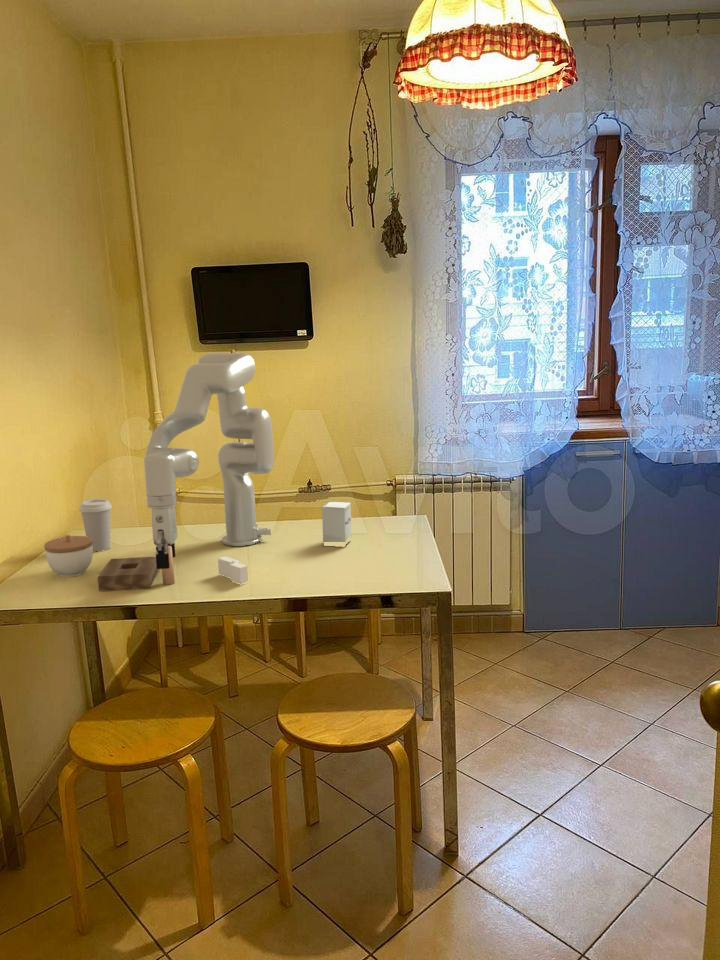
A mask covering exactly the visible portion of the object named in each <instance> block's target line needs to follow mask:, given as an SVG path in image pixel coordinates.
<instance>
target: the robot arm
mask: <svg viewBox="0 0 720 960" xmlns="http://www.w3.org/2000/svg"><path fill="white" fill-rule="evenodd" d="M197 362H198V363H195V364H192V365H191V366H189V368H187V370H186V372H185V376H184V379H183V381H182V384H181V385H182V386H181V389H180V393H179V396H178V399H177V402H176V405H175V407H174V410H173V412H171V414H169V415H168V416H167V417H166V418H165V419H163V421H162V422H161V423H160V424H159V425H158V426H157V427H156V428H155V429H154V431H153V432H152V434H151V436H150V439H149V442H148V445H147V449H146V452H145V457H144V460H143V461H144V462H143V464H144V465H143V466H144V478H145V479H144V480H145V491H146V503H147V508H148V509H151V524H152V525H151V526H152V527H151V528H152V539H153V544H154V545H155V557H156V565H157V569H159V570H162V569H168V568H169V567H170V566H169V553H167V550H168V546H172V556H173V559H175V558H176V544H175V541H176V540H177V538H178V524H177V517H176V516H177V515H176V509H175V508H176V506H178V498H177V486H176V484H177V483H176V479H177V478H187V477H189V476H191V475H193V474H195V473H196V471H197V470H198V468H199V464H200V458H199V457H198V454H197V453H196V451H194V450H191V449H188V448H176V447H169V445H170V444H171V442H172V441H173V440H174V439H175V438H176V437H177V436H179V435H180V434H182V433H184V432H186V431H188V430H191V429H192V428H194V427H197V426H199V425H200V424H203V422H204V421H205V420H206V418H207V415H208V411H209V410H208V409H209V407H210V403H211V400H212V396H213V395H216V397H217V404H218V414H219V424H220V431H221V433H222V435H223V436H224V438H228V439H236V440H252V441H253V442H240V441H239V442H238V441H237V442H236V441H235V442H228V443H226V444H223V445H222V446H221V447H220V449H219V451H218V455H217V458H218V460H217V461H218V463H219V464H218V465H219V468H220V472H221V477H222V485H223V497H224V498H223V499H224V513H225V514H224V515H225V516H224V517H225V530H226V534H225V535H224V536H222V538H221V543H222V544H223V545H225V546H229V547H245V546H246V545H247V546H251V545H256V544H258V543H260V542H261V541H262V540H263V536H271V535H272V528H268V527H263V528H262V527H261V528H260V527H259V524H257V515H256V512H257V511H256V495H255V494H256V492H255V490H256V489H255V485H254V481H253V480H252V478H251V476H250V475H249V474H251V475H266V474H269V473H271V472H272V471H273V470H274V467H275V466H274V465H275V445H274V430H273V421H272V418H271V416H270V414H269V412H268V411H267V410H265V409H263V408H259V407H256V408H255V407H248V404H247V397H246V396H247V395H246V390H245V388H244V386H246V385H247V384H249V383H250V382H251V381H252V380H253V378H254V377H255V374H256V370H257V369H256V368H257V367H256V362H255V360H254V358H253V357H252V355H250V354H248V353H244V352H242V353H241V352H238V353H237V352H236V353H235V352H234V353H233V352H232V353H231V352H229V353H228V352H227V353H226V352H215V353H207V354H203V355H202V356H200V358H199V359H198V361H197ZM259 541H260V542H259ZM257 542H258V543H257ZM255 543H256V544H255ZM164 546H165V549H164Z"/></svg>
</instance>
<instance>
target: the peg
mask: <svg viewBox="0 0 720 960" xmlns="http://www.w3.org/2000/svg"><path fill="white" fill-rule="evenodd" d="M164 549H165V546H164ZM167 553H169V566H170V567H169V568H168V569H161V572H162V573H161V575H162V584H163V585H164V586H171V585H173V584H175V569H174V558H173V556H172V546H168V550H167Z"/></svg>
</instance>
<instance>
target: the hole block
mask: <svg viewBox="0 0 720 960" xmlns="http://www.w3.org/2000/svg"><path fill="white" fill-rule="evenodd" d="M159 572H160V569H157V565H156V556H147V557H146V556H144V557H127V558H126V557H123V558H119V557H118V558H110V560H108V562H107V564H106V565H105V566H104V567H103V568H102V570H101V571H100V572H99V574H98V575H97V585H98V588H97V589H98V592H106V591H107V592H108V591H124V590H125V591H127V590H129V591H130V590H145V589H147V590H148V589H150V588H151V586H152V584H153V582H154V581H155V579H156V577H157V575H158V574H159Z"/></svg>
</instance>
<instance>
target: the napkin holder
mask: <svg viewBox="0 0 720 960" xmlns="http://www.w3.org/2000/svg"><path fill="white" fill-rule="evenodd" d="M217 562H218V575H219V574H221V575H224V576H226V577H230V578H231V579H230V580H231V581H234V582H237V583H240V584H242V583H245V582H247V581H248V582H249V577H248V576H249V572H248V565H247V564H243V563H241V561H240V560H238V559H234V558H232V557H229V556H226V555H225V556H222V557H218V558H217ZM231 581H230V582H231Z"/></svg>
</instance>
